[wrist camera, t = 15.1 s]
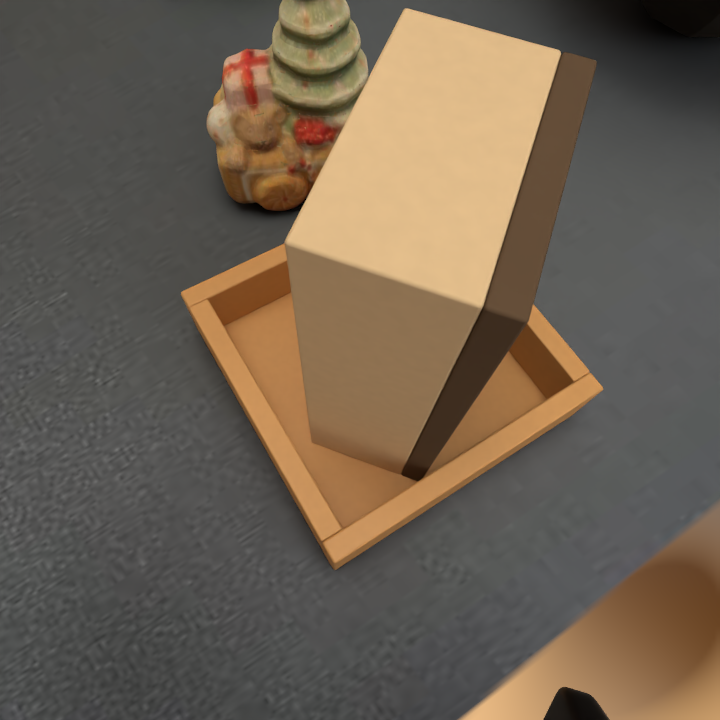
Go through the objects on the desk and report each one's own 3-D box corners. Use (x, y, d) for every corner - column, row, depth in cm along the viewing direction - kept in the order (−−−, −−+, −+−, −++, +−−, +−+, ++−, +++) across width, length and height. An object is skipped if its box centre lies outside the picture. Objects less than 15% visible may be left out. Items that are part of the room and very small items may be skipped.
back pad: (468, 330, 24) (599, 59, 12) (420, 482, 21) (529, 322, 9) (370, 297, 24) (403, 5, 13) (310, 442, 22) (282, 241, 10)
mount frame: (572, 415, 23) (605, 388, 20) (334, 571, 20) (334, 564, 18) (416, 221, 27) (426, 175, 24) (197, 328, 24) (179, 292, 21)
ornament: (234, 233, 26) (182, 33, 17) (209, 139, 29) (151, -80, 20) (393, 198, 28) (422, -5, 18) (357, 111, 30) (367, -108, 21)
